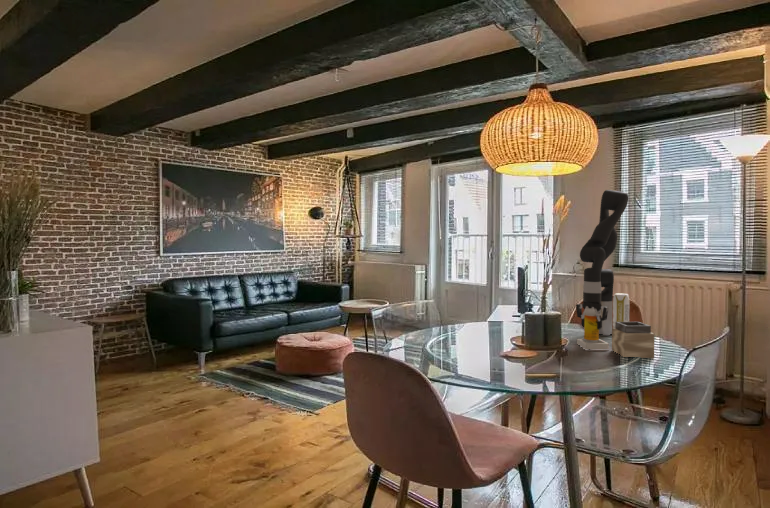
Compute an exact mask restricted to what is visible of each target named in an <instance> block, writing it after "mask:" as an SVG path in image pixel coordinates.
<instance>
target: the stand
mask: <svg viewBox="0 0 770 508" xmlns="http://www.w3.org/2000/svg"><path fill="white" fill-rule="evenodd" d="M655 336H656V335H655V333H653V332H652V326H651V325H649V324H646V323H643V322H640V321H629V322H615V328H613V327H612V335H611V351H612V350H613V351H614V352H613V351H612V352H613V353H615V352H616V353H615V354H617V353H618V354H617V355H619V354H620V355H621V357H622V356H623V358H624V357H641V358H640V359H646V358H648V359H651V358H652V359H654V358H655ZM620 355H619V356H620Z"/></svg>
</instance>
